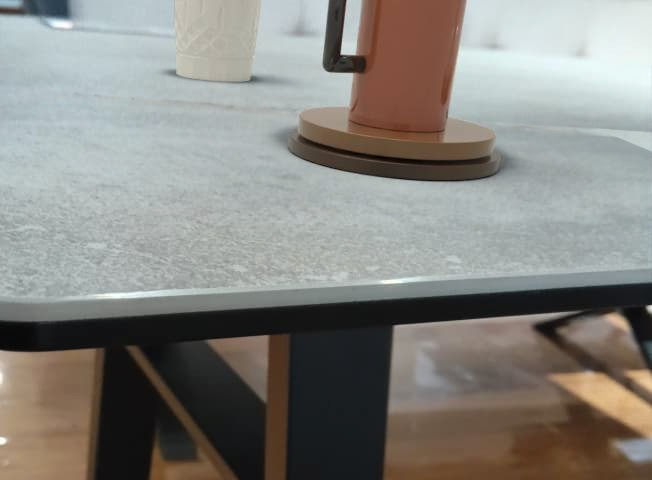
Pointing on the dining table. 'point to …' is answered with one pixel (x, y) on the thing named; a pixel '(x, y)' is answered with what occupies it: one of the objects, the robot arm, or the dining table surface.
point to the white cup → (216, 38)
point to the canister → (398, 84)
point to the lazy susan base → (392, 162)
